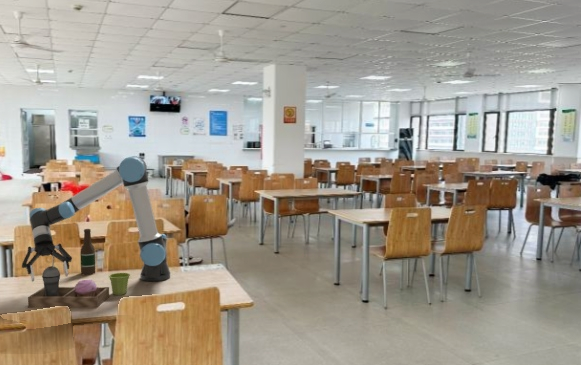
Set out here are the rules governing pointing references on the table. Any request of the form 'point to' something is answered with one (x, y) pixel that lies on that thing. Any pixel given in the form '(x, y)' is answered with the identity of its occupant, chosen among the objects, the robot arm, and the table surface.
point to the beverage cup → (51, 281)
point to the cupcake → (85, 288)
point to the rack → (68, 298)
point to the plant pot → (119, 282)
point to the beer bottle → (87, 254)
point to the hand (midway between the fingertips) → (50, 277)
